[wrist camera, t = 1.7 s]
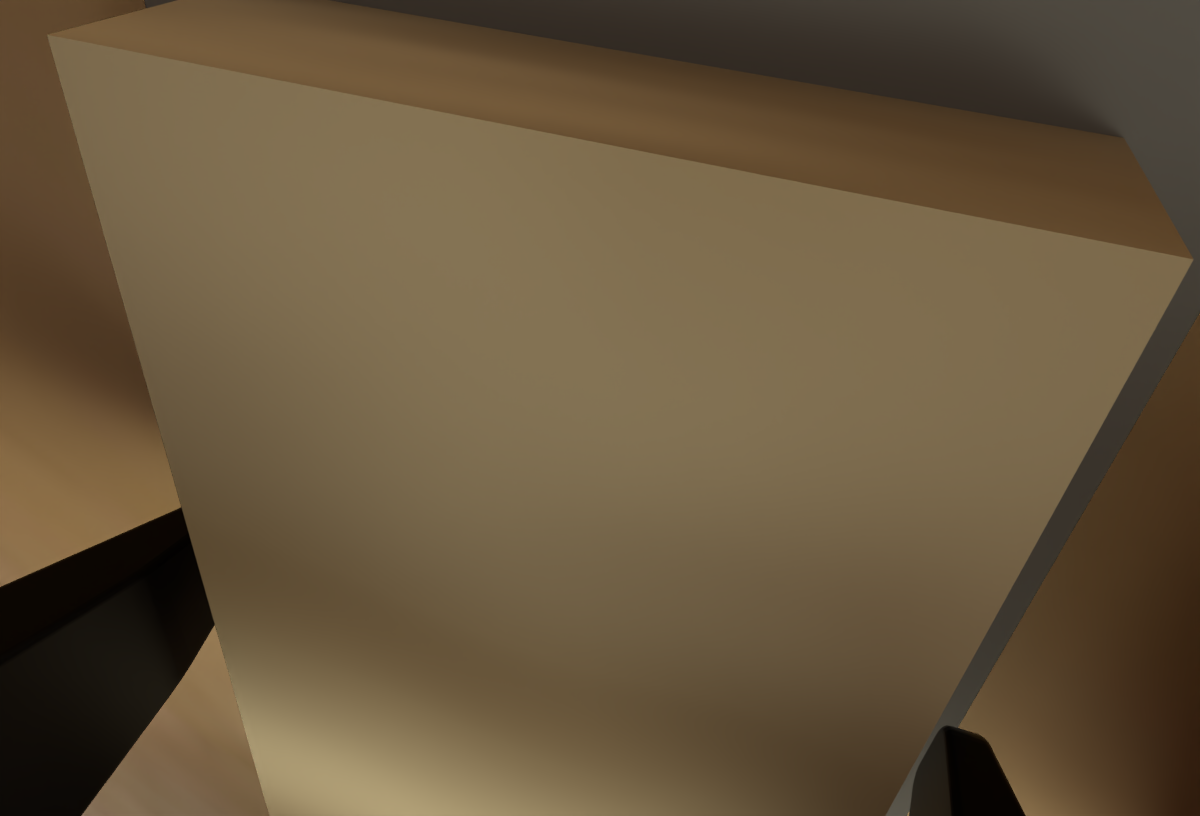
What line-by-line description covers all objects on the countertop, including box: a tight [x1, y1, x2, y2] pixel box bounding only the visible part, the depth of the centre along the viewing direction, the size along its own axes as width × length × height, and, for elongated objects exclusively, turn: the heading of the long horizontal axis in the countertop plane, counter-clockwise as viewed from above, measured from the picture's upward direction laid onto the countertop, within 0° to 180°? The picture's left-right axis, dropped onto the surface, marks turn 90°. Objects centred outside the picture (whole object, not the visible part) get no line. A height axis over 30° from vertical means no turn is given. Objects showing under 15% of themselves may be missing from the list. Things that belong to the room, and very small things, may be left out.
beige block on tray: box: [47, 0, 1194, 816], centre depth 9 cm, size 12×7×2 cm, turn 176°
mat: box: [144, 0, 1200, 816], centre depth 10 cm, size 14×9×1 cm, turn 176°
